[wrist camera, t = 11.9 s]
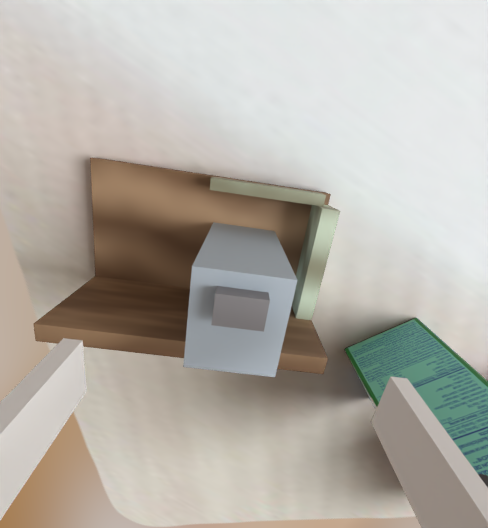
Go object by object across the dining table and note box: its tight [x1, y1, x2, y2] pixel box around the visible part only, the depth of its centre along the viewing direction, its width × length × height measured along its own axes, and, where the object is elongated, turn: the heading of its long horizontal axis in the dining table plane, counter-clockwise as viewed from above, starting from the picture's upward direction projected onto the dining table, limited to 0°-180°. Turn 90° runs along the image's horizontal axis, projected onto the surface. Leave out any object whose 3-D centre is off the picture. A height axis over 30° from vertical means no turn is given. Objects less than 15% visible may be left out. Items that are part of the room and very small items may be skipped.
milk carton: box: [345, 318, 488, 476], centre depth 22 cm, size 9×9×25 cm
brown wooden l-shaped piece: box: [34, 158, 340, 374], centre depth 24 cm, size 13×22×10 cm, turn 82°
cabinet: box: [183, 222, 297, 377], centre depth 22 cm, size 7×6×13 cm
